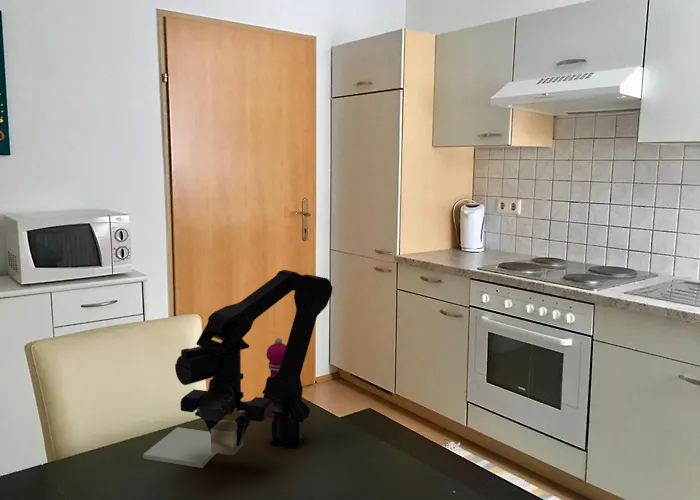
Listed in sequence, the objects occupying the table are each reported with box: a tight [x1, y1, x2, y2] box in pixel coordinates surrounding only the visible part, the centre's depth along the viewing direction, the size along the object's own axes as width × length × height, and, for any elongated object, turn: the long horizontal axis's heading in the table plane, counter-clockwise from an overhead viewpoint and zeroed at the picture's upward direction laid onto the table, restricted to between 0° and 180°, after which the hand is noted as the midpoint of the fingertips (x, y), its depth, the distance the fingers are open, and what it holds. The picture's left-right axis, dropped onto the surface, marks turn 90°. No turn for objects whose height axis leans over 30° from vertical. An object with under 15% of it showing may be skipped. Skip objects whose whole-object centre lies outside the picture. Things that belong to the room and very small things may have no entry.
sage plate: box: [142, 426, 218, 469], centre depth 134 cm, size 14×14×1 cm
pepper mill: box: [266, 337, 287, 418], centre depth 153 cm, size 7×7×20 cm
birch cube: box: [211, 419, 244, 456], centre depth 125 cm, size 5×5×5 cm
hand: (227, 443), depth 126 cm, fingers closed on birch cube, 5 cm apart
